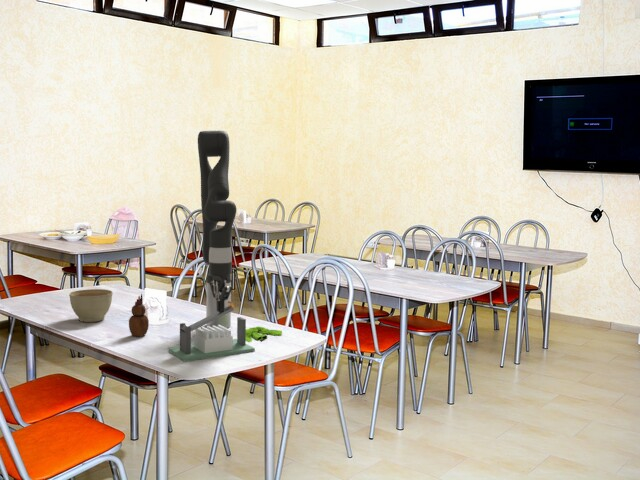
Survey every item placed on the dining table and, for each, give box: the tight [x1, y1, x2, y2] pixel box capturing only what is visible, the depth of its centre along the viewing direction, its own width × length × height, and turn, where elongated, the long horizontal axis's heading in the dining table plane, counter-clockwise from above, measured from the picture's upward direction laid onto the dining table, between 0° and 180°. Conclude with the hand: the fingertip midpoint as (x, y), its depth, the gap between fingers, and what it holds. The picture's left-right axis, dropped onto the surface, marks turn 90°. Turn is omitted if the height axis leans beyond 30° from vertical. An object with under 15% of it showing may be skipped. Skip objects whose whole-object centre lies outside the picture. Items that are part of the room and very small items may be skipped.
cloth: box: [246, 326, 283, 343], centre depth 259 cm, size 20×22×2 cm
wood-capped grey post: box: [181, 301, 235, 333], centre depth 235 cm, size 19×3×2 cm, turn 123°
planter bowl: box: [68, 288, 113, 323], centre depth 276 cm, size 16×16×11 cm
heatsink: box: [168, 316, 256, 363], centre depth 237 cm, size 14×25×10 cm, turn 123°
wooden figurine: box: [128, 293, 150, 337], centre depth 254 cm, size 7×6×15 cm
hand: (220, 311), depth 237 cm, fingers closed
